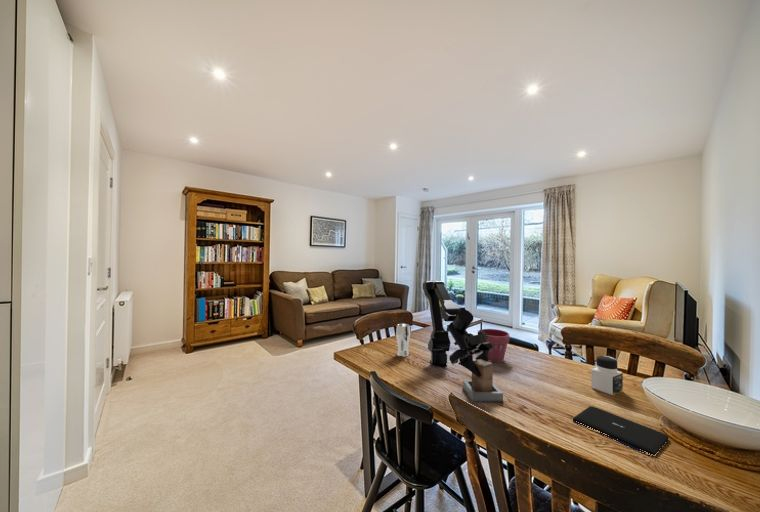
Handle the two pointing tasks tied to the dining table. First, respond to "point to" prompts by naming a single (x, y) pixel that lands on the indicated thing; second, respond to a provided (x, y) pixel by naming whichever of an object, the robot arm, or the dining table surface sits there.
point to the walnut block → (483, 376)
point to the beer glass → (403, 339)
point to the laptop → (622, 430)
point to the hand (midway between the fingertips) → (485, 374)
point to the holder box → (482, 393)
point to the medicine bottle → (607, 376)
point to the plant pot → (496, 344)
